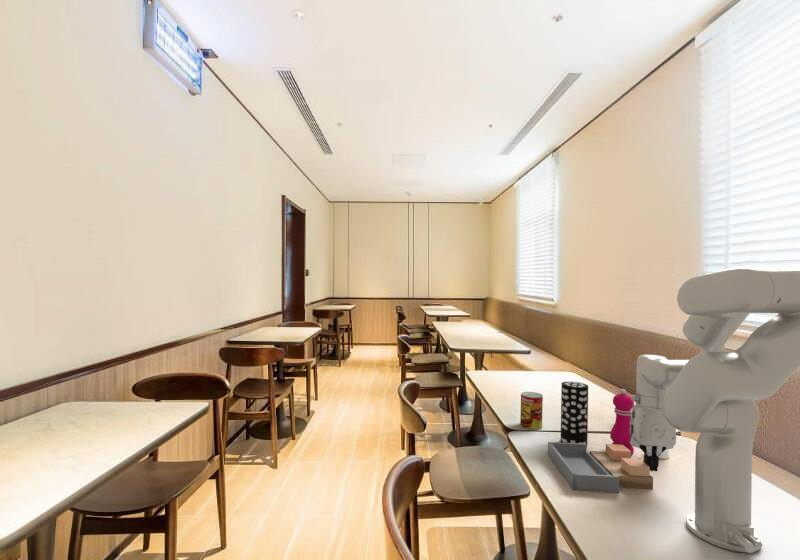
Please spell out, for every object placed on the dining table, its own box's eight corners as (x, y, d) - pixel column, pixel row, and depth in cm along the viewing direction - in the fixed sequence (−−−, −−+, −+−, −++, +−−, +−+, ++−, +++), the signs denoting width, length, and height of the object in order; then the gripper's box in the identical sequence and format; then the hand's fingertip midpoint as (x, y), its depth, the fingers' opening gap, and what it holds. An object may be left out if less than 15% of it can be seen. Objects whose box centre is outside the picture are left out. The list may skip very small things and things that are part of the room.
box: (619, 492, 104) (619, 477, 104) (573, 490, 105) (573, 474, 105) (585, 456, 126) (585, 443, 126) (547, 454, 127) (548, 441, 127)
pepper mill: (638, 456, 127) (639, 392, 127) (613, 454, 128) (614, 391, 128) (630, 447, 134) (631, 387, 134) (607, 445, 135) (608, 385, 135)
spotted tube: (559, 445, 134) (560, 385, 134) (561, 437, 141) (562, 380, 142) (586, 451, 130) (587, 388, 130) (588, 442, 138) (589, 383, 138)
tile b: (631, 460, 117) (631, 451, 117) (613, 459, 117) (613, 450, 117) (622, 453, 122) (622, 444, 122) (605, 452, 122) (605, 443, 122)
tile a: (649, 476, 107) (649, 466, 107) (630, 475, 107) (630, 465, 107) (639, 467, 112) (639, 458, 112) (621, 466, 112) (621, 457, 112)
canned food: (516, 423, 155) (516, 392, 155) (533, 421, 157) (534, 391, 157) (528, 430, 147) (529, 397, 148) (546, 428, 150) (547, 396, 150)
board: (653, 488, 106) (653, 477, 106) (613, 486, 107) (614, 475, 107) (623, 462, 122) (623, 452, 122) (589, 460, 123) (589, 450, 123)
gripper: (630, 404, 106) (629, 473, 106) (690, 406, 105) (689, 477, 105) (617, 396, 114) (616, 461, 114) (672, 398, 113) (671, 464, 112)
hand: (651, 468), depth 109 cm, fingers closed
